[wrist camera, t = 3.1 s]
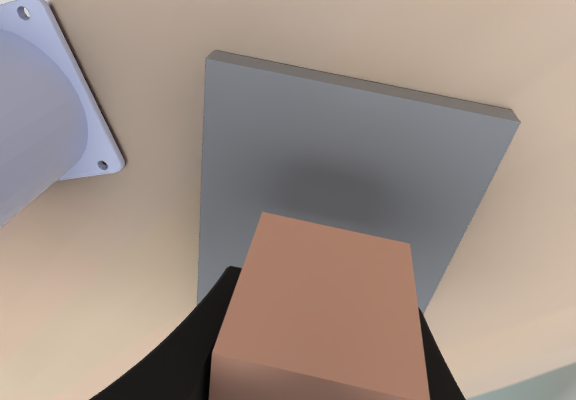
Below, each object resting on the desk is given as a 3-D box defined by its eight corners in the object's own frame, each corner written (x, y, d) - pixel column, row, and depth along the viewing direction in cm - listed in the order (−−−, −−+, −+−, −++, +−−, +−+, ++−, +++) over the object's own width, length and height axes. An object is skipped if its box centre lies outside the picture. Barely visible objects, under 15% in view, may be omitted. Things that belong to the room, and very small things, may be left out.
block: (370, 337, 15) (372, 495, 11) (248, 310, 15) (204, 454, 11) (409, 243, 12) (430, 403, 8) (262, 211, 13) (212, 352, 9)
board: (375, 389, 28) (375, 407, 27) (200, 348, 28) (194, 364, 28) (511, 109, 16) (521, 122, 16) (215, 50, 17) (205, 58, 16)
